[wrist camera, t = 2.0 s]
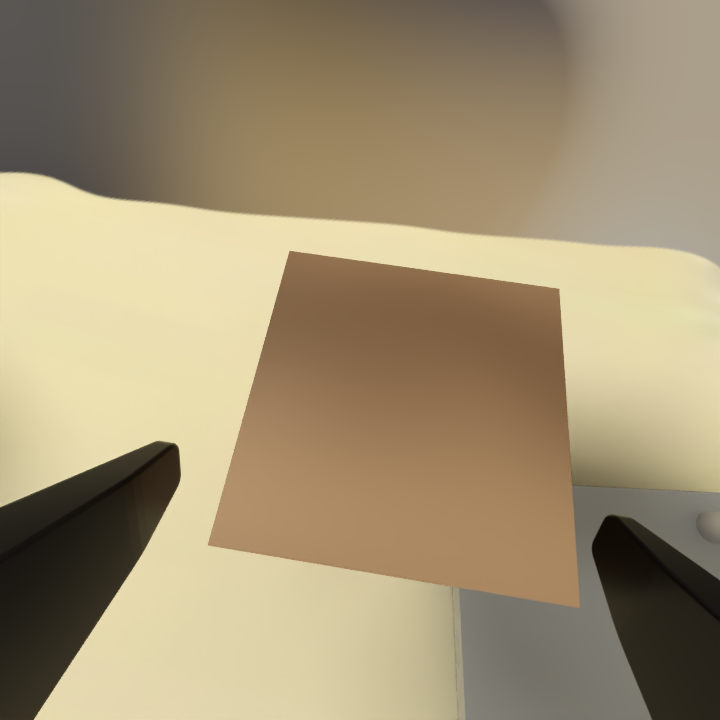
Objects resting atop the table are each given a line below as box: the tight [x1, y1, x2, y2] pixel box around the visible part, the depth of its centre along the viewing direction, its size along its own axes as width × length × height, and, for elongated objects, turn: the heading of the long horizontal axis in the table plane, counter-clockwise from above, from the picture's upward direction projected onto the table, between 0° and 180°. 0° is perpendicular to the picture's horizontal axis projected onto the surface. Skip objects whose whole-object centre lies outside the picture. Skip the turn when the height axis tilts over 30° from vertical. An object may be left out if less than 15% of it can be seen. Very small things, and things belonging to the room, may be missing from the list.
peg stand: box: [453, 485, 720, 720], centre depth 13 cm, size 12×12×4 cm
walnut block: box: [208, 251, 580, 608], centre depth 12 cm, size 5×5×12 cm
